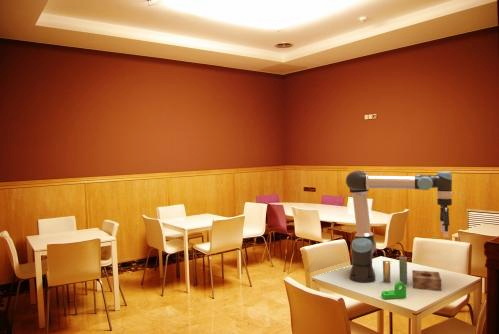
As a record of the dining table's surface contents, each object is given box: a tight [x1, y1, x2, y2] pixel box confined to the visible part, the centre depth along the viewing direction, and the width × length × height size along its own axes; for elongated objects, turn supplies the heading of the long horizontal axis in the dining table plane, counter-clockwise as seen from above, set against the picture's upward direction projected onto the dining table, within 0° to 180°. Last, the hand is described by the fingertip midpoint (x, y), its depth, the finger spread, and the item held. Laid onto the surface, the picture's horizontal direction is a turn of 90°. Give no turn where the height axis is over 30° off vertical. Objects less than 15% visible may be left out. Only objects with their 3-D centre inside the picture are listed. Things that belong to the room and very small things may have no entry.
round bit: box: [382, 260, 392, 284], centre depth 224 cm, size 4×4×12 cm
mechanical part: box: [380, 280, 407, 300], centre depth 202 cm, size 12×6×8 cm, turn 99°
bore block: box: [411, 269, 442, 292], centre depth 216 cm, size 14×14×6 cm
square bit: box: [398, 256, 408, 286], centre depth 220 cm, size 4×4×15 cm
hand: (444, 234), depth 222 cm, fingers open, 13 cm apart
